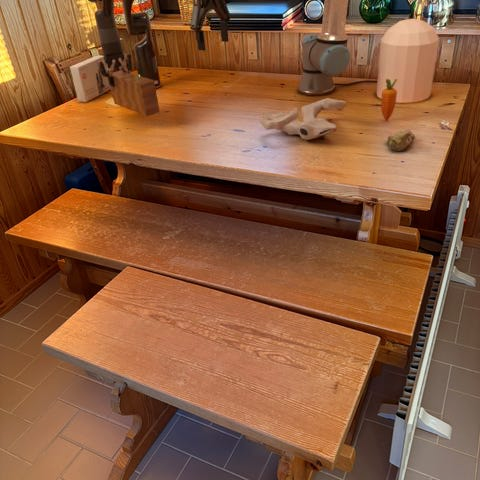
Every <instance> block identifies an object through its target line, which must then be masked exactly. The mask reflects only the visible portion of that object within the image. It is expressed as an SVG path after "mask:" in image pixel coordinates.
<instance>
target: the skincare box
mask: <svg viewBox="0 0 480 480" xmlns="http://www.w3.org/2000/svg"><path fill="white" fill-rule="evenodd" d="M103 59H104V55H100V54H99V55H95V56H92V57H90V58H87V59H85V60H83V61H80V62H78V63H75V64H73V65H71V66H69V70H70V74H71V78H72V82H73V86H74V90H75V94H76V98H77V102H81V103H82V102H84V103H87V102H89V101H91V100H93V99H95V98H97V97H100V96H101V95H103V94H105V93H107V92H108V91H110V90H111V87H110V85H109V81H108V77H105V76H102V74H101V71H100V69H99V66H98V64H97V61H101V60H103ZM104 67H105V70H106V72H107V64H106V63H105V66H104Z"/></svg>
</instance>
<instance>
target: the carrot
mask: <svg viewBox="0 0 480 480" xmlns="http://www.w3.org/2000/svg"><path fill="white" fill-rule="evenodd" d="M396 81H397V79H395V80H394V82H393V84H391V82H390V79H386V83H387V85H386V87H387V88H386V89H384V90H383V91H382V98H380V99H381V100H380V101H381V102H380V104H381V112H382V113H381V114H382V117H383V119H384V120H385V121H386V122H388V121H389V119H390V118H391V117H392V114H393V112H394V109H395V106H396V103H397V102H396V95H397V91H396V90H395V89H394V88H393V86H394V84H395V83H396ZM389 85H390V86H389ZM391 85H392V86H391Z"/></svg>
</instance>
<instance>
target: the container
mask: <svg viewBox="0 0 480 480" xmlns="http://www.w3.org/2000/svg"><path fill="white" fill-rule="evenodd" d="M439 41H440V37H439V35H438V34H437V31H436V30H435V28H434V27H433V25H431V24H429V23H428V22H426V21H425V20H423V19H419V18H418V19H416V18H407V19H402V20H400V21H398V22H396V23H395V24H393V25H392V26H390V27H389V28H388V29H387V30H386V31H385V33H384V34H383V35H382V37H381V38H380V41H379V42H380V43H379V53H378V54H379V55H378V68H377V80H376V81H377V83H376V92H375V94H376V96H377V98H379V99H381V98H382V91H383V90H384V89H386V88H387V87H386V85H387V83H386V79H390V82H391V84H393V82H394V80H395V79H397V81H396V83H395V84H394V86H393V88H394V89H395V90H396V91H397V95H396V102H395V103H401V104H403V103H406V104H407V103H416V102H422V101H425V100H427V99H429V98H430V96H431V94H432V89H433V82H434V75H435V68H436V62H437V55H438V48H439ZM389 86H390V85H389ZM391 86H392V85H391Z"/></svg>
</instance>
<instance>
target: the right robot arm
mask: <svg viewBox="0 0 480 480" xmlns="http://www.w3.org/2000/svg"><path fill="white" fill-rule="evenodd" d="M192 2H193V6H192V12H191V19H190V26H189V28H190V30H191V31H194V32H195V40H196V43H197V50H198V51H203V52H204V51H206V42H205V35H204V30H202V29H203V26H204V23H205V20H206V16H207V13H209V11H211V10H213V11H214V13H215V14H216V15H217V17H218V18H219V20H220V22H219V28H220V37H221V42H226V43H228V42H229V40H230V39H229V25H228V23H229V22H231V19H232V16H231V13H230V10H229V8H228V6H227V3H226V1H225V0H192ZM348 7H349V0H324V3H323V12H322V24H321V31H320V32H319V33H318V32H317V33H316V32H315V33H309V34H306V35H304V36H303V37H302V43H301V46H302V74H301V78H300V80H299V81H300V82H299V85H298V92H299V94H301V95H305V96H311V97H313V96H315V97H318V96H325V95H329V94H331V93H333V92H334V91H335V86H341V87H343V86H344V87H345V86H346V87H347V86H352V85H355V84H356V85H357V84H364V83H376V84H377V80H358V81H353V82H347V83H335V81H334V79H333V76H338V75H340V74H342V73H343V72H344V71H345V70H346V69H347V68H348V67H349V65H350V62H351V52H350V51H349V50H350V49H348V40H349V37H348V35H346V33H345V30H346V24H347V23H346V21H347V14H348Z"/></svg>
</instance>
